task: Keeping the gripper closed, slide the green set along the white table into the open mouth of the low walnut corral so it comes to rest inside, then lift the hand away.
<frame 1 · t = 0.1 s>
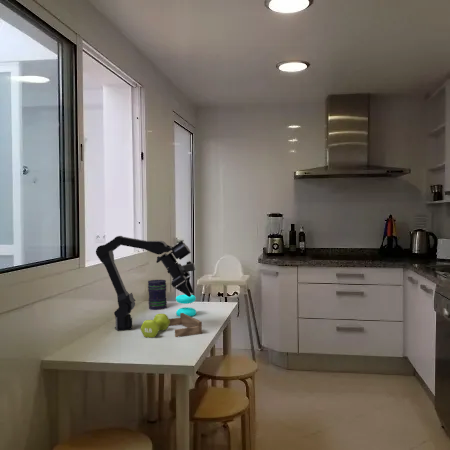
hand: (191, 294, 222), 15 cm above the table, tool tilted 35°, fingers open, 9 cm apart
walnut corral: (180, 329, 218), on the table
storage jar: (157, 308, 271), on the table
donuts: (186, 315, 250), on the table
dumbbell: (155, 334, 214), on the table
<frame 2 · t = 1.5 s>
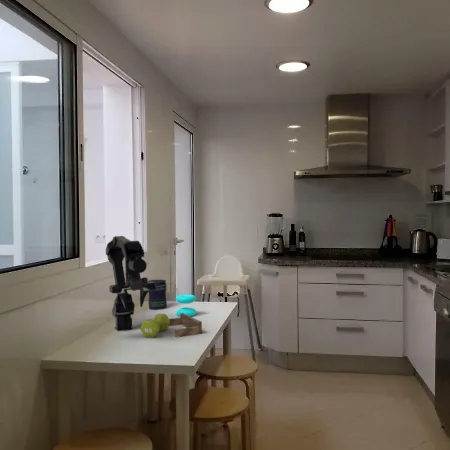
hand: (133, 307, 209), 12 cm above the table, tool pointing down, fingers open, 6 cm apart
nothing on the table moved.
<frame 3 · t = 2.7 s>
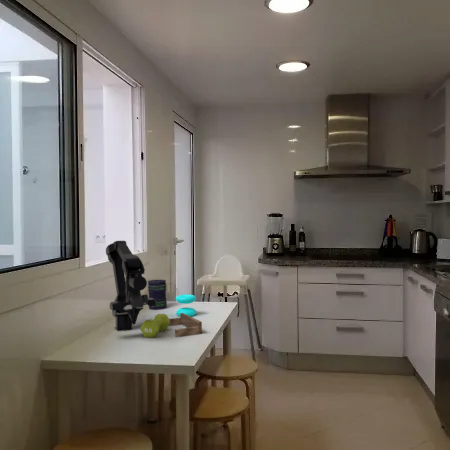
hand: (133, 324, 209), 5 cm above the table, tool pointing down, fingers closed
nothing on the table moved.
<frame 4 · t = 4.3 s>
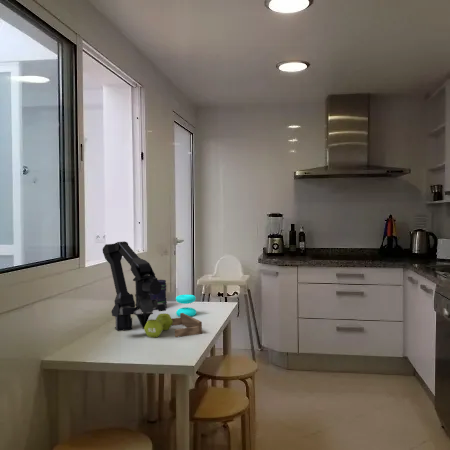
hand: (143, 328, 211), 3 cm above the table, tool pointing down, fingers closed
dumbbell: (159, 333, 214), on the table
everything else where it was.
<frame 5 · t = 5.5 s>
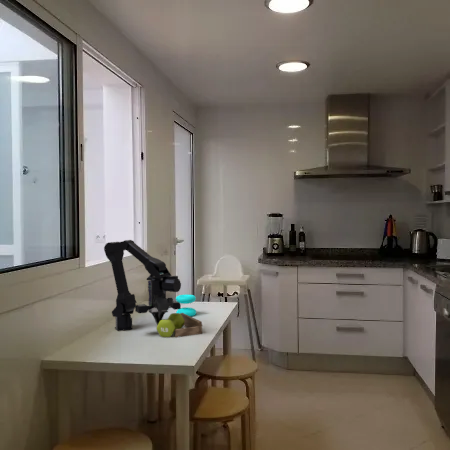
hand: (158, 326, 214), 3 cm above the table, tool pointing down, fingers closed
dumbbell: (171, 333, 214), on the table, touching gripper, walnut corral
everything else where it was.
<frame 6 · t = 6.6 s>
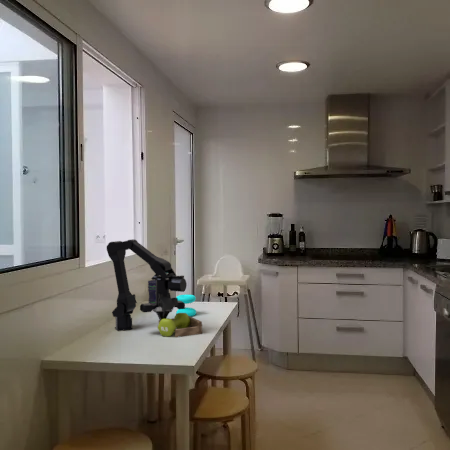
hand: (162, 326, 216), 3 cm above the table, tool pointing down, fingers closed
dumbbell: (174, 333, 214), on the table, touching gripper, walnut corral
everything else where it was.
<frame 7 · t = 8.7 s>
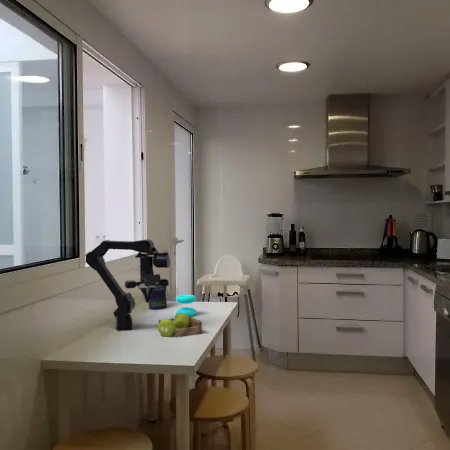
hand: (147, 302, 222), 12 cm above the table, tool pointing down, fingers closed
dumbbell: (174, 333, 214), on the table
everything else where it was.
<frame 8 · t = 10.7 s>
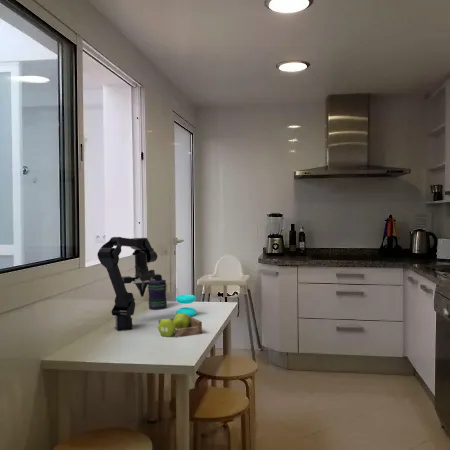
hand: (142, 296, 238), 12 cm above the table, tool pointing down, fingers closed
nothing on the table moved.
at the end: dumbbell inside the target area on the walnut corral (4.3 cm from its centre), point 0.0 cm above the walnut corral's base; dumbbell tilted 0° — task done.
